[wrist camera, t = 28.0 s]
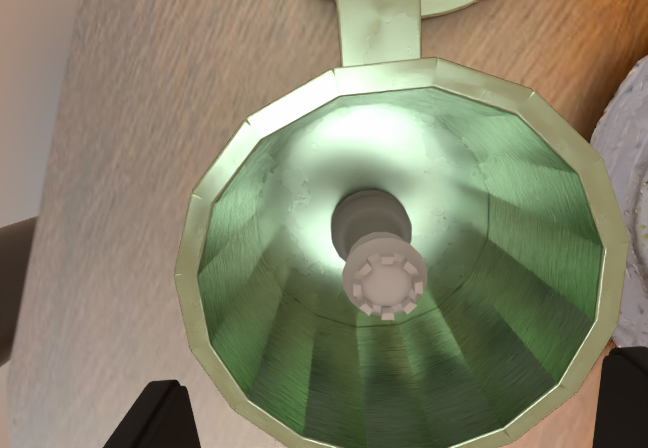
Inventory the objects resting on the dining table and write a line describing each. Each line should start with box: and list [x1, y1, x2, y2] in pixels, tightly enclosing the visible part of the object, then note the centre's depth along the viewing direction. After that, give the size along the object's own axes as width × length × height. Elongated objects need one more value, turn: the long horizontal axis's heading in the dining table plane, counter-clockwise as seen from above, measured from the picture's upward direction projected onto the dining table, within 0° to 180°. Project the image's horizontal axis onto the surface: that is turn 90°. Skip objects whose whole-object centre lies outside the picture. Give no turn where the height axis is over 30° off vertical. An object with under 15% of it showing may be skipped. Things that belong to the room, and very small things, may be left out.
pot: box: [174, 0, 629, 448], centre depth 17 cm, size 15×20×10 cm
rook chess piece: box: [330, 190, 427, 320], centre depth 17 cm, size 4×4×8 cm
